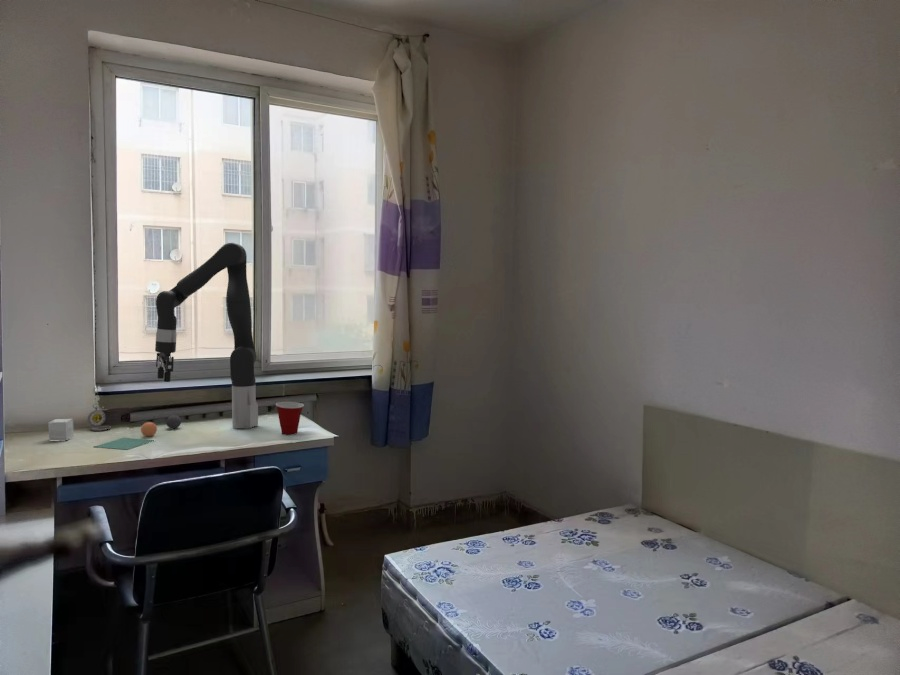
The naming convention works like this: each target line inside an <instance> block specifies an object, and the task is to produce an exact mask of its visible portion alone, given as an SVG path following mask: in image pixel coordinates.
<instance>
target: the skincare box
mask: <svg viewBox="0 0 900 675" xmlns="http://www.w3.org/2000/svg"><path fill="white" fill-rule="evenodd" d="M47 425H48V441H49V440H60V441H59V442H62V441H61V440H68V439H70V438H72V437H74V438H75V436H74V435H75V432H74V431H75V430H74V419H73V418H55V419H53V420H51V421H49V422H47ZM72 439H73V438H72ZM70 440H71V439H70ZM68 441H69V440H68Z"/></svg>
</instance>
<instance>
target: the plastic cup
mask: <svg viewBox="0 0 900 675" xmlns="http://www.w3.org/2000/svg"><path fill="white" fill-rule="evenodd" d="M275 406H276V410H277V413H278V421H279V426H280V431H281V434H282V435H283V434H294V435H296V434H295V433H297V434H298V431H299V425H300V419H301V414H302V410H303V408H304V406H305V404H303V403H302V402H301V403H300V402H297V401H281V402H280V401H278V402H276V403H275Z"/></svg>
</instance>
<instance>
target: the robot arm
mask: <svg viewBox="0 0 900 675" xmlns="http://www.w3.org/2000/svg"><path fill="white" fill-rule="evenodd" d="M247 256H248V255H247V252H246V250H245V247H243V246H242V245H241V244H239V243H235V242H226V243H224V244H223V245H222V246H221V247H220V248H219V249H218V250H217V251H216V252H215V253H214V254H213V255H211V257H209V259H207V260H206V261H205V262H204V263H203V264H201V265H200V266H198V267H197V268H196V269H194V270H193V271H191V272H190V273H188V274H187V275H186V276H184V277H183V278H182V279H179V281H178V282H177V283H176V285H175V286H174V287H173V288H171V289H170V290H163V291H161V292H159V293H158V294H157V297H156V300H155V307H156V308H155V309H156V314H157V315H156V316H157V324H156V328H157V329H156V333H155V347H154V348H155V349H154V350H155V353H156V362H155V367H156V368H157V377H156V378H157V379H158V380H159V379H162V380H163V382H164V383H170V381H171V374H172V372H174V361H175V360H174V359H175V358H174V356H172V354H175V353H176V351H177V337H178V336H177V325H178V324H177V322H178V320H177V319H178V318H177V316H176V315H175V308H178V307H179V306H180V305H181V304H182V303H184V302H185V301H186V300H187V299H188V298H189V297H190V296H192V295H194V294H195V293H196V292H198V291H199V290H200V289H202V288H203V287H204V286H206V284H208V283H209V282H210V281H211V279H213V278H214V276H216V275H217V274H218V273H220V272H221V271H224V270H227V278H228V279H227V282H228V283H227V288H226V295H225V296H226V297H225V302H226V312H227V317H228V321H229V324H230V326H231V331H232V334H233V344H234V348H233V350H232V352H231V353H230V357H229V368H230V374H229V375H230V380H231V410H232V411H231V413H232V414H231V417H232V418H231V420H232V424H231V425H232V428H233V429H237V428H245V429H252V427H253V428H255V427H257V426H256V425H258V426H259V404H258V402H257V399H256V398H257V397H256V394H257V393H256V392H257V391H256V390H257V388H256V385H257V384H256V377H255V362H256V360H257V352H256V349H255V347H256V346H255V344H254V342H255V341H254V338H253V330H252V328H253V325H252V324H253V322H252V308H251V307H252V306H251V305H252V304H251V299H250V290H249V284H248V277H247V259H248V258H247ZM254 426H255V427H254Z"/></svg>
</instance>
